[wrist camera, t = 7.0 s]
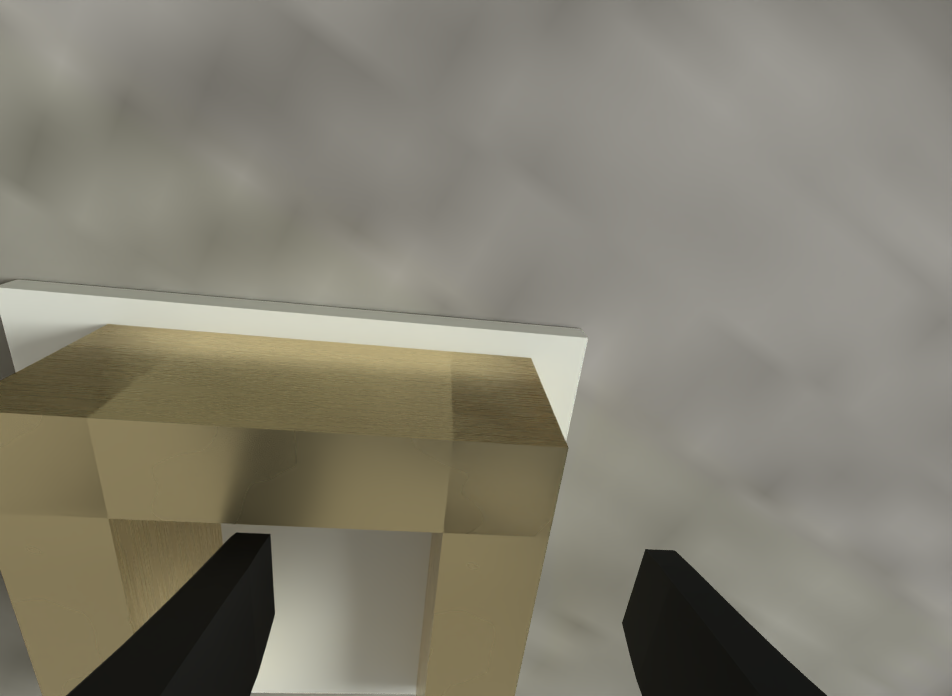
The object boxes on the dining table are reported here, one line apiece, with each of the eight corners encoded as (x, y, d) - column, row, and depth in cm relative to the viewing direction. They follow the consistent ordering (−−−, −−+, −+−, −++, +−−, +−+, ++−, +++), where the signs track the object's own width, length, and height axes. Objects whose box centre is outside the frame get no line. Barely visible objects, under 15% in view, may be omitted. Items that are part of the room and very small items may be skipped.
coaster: (581, 328, 11) (587, 338, 11) (509, 675, 16) (511, 695, 15) (17, 279, 10) (-8, 287, 10) (113, 670, 15) (100, 691, 14)
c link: (531, 357, 11) (568, 448, 8) (475, 685, 15) (483, 834, 12) (107, 323, 10) (-54, 409, 7) (172, 682, 14) (91, 842, 11)
